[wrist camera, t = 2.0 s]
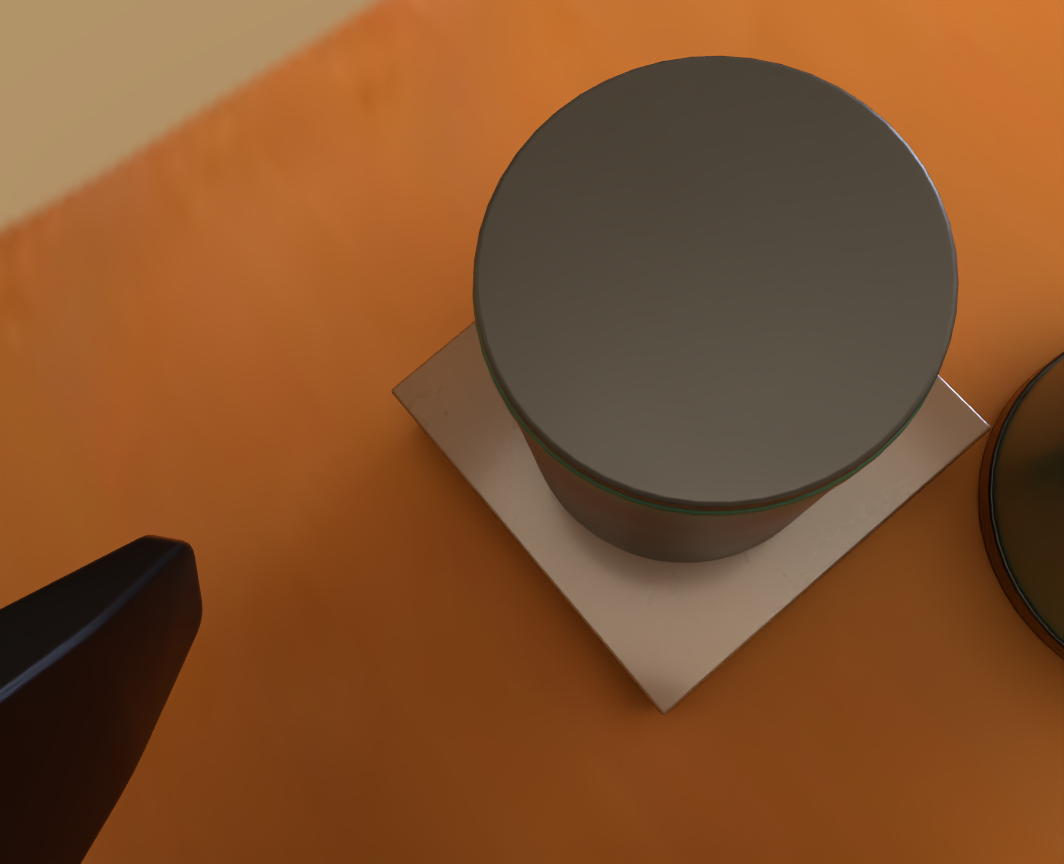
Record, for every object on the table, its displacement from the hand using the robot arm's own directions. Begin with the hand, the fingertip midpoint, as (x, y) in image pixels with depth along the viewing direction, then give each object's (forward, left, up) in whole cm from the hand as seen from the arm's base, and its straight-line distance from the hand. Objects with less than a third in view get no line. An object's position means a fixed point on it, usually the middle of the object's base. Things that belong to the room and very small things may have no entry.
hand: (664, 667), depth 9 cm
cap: (+4, +3, -11) cm, 12 cm away
